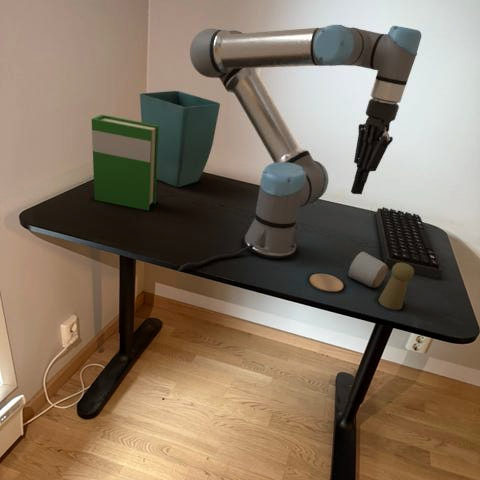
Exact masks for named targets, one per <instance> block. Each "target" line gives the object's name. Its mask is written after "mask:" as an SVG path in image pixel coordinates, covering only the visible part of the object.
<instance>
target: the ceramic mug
mask: <svg viewBox="0 0 480 480" xmlns="http://www.w3.org/2000/svg"><path fill="white" fill-rule="evenodd" d="M388 270H389V268H388V267H387V265H386V264H385V263H384V261H382V260H380V259H378V258H377V257H375V256H373V255H370V254H369V253H367V252H365V251H361V252H360V253H358V254H357V255H356V256H355V258H354V259H353V261H352V262H351V264H350V267H349V271H348V277H349V278H350V279H353V280H355V281H357V282H359V283H361V284H363V285H365V286H367V287H369V288H372V289H375V288H378V287H380V286H381V284H382V283H383V281H384V280H385V278H386V276H387V274H388Z"/></svg>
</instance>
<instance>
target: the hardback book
mask: <svg viewBox="0 0 480 480" xmlns="http://www.w3.org/2000/svg"><path fill="white" fill-rule="evenodd" d="M158 138H159V126H158V125H153V124H148V123H143V122H141V121H139V120H138V121H137V120H132V119H127V118H121V117H117V116H111V115H106V114H100V115H97V116H96V117H95V116H94V117H93V118H91V140H92V141H91V143H92V163H93V164H92V167H93V168H92V170H93V193H94V195H93V196H94V198H93V199H94V201H99V202H104V203H109V204H114V205H118V206H123V207H129V208H133V209H138V210H144V211H150V209H151V208H150V207H151V206H150V205H151V204H153V205H155V204H156V203H157V184H158V183H157V181H158V179H157V161H158Z"/></svg>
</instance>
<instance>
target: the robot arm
mask: <svg viewBox="0 0 480 480" xmlns="http://www.w3.org/2000/svg"><path fill="white" fill-rule="evenodd" d="M421 40H422V32H421V31H420V30H419V29H414V28H409V27H404V26H399V25H392V26H391V27H390V28H389V31H388V33H379V32H376V31H372V30H371V31H370V30H366V29H361V28H358V27H354V26H353V27H348V26H345V25H342V24H330V25H327V26H323V27H311V28H310V27H309V28H297V29H296V28H295V29H285V30H284V29H283V30H271V31H270V30H269V31H256V32H255V31H254V32H242V31H239V30H234V29H233V30H228V29H227V30H226V29H217V28H206V29H203V30H200V31H199V32H197V34H196V35H195V36H194V37H193V39H192V41H191V43H190V47H189V58H190V62H191V65H192V66H193V68H194V69H195V70H196V71H197V73H198V74H200V75H201V76H203V77H206V78H211V79H212V78H213V79H219V80H220V82H221V83H222V85H223V87H224V89H225V90H226V92H227V93H233V94H234V95H235V98H236V99H237V101H238V102H239V104H240V106H241V107H242V109H243V112H244V113H245V115H246V116H247V118H248V120H249V122H250V123H251V125H252V126H253V128H254V130H255V132H256V134H257V135H258V137H259V139H260V141H261V142H262V144H263V146H264V147H265V150H266V152H267V153H268V154H269V156H270V158H271V160H272V163H270V164H268V165H266V166H265V167H264V168H263V171H262V174H261V178H260V183H259V190H258V196H257V202H256V208H255V214H254V219H253V221H252V222H251V224H250V226H249V228H248V230H247V232H246V233H245V236H244V239H243V240H244V241H243V245H244V247H243V248H242V249H241V250H238V251H235V252H233V253H227V254H218V255H214V256H211V257H208V258H206V259H204V260H202V261H198V262H187V263H185V264H182V265H181V266H180V267H179V268H178V269H177V272H182V271H183V270H184V269H186V268H188V267H200V266H202V265H205V264H208V263H210V262H213V261H215V260H218V259H219V260H220V259H225V258H233V257H238V256H240V255H241V254H243V253H245V252H246V251H249V252H250V253H252V254H254V255H256V256H258V257H261V258H265V259H271V260H285V259H290V258H291V257H293V256H294V255H296V249H297V234H296V229H295V227H296V221H297V218H298V214H299V209H301V208H303V207H305V206H307V205H310V204H313V203H315V202H316V201H318V200H319V199H320V198H322V197H323V196H324V195H325V192H326V191H327V189H328V185H329V174H328V171H327V168H326V167H325V166H324V165H323V164H322V163H321V162H319V161H318V160H315V159H314V158H313V157H312V155H311V153H310V151H309V150H308V149H306V148H302V147H301V146H300V144H299V143H298V141H297V139H296V138H295V136H294V134H293V132H292V131H291V129H290V127H289V125H288V124H287V122H286V120H285V118H284V116H283V115H282V112H281V111H280V109H279V108H278V106H277V104H276V102H275V100H274V99H273V97H272V95H271V94H270V92H269V90H268V88H267V87H266V85H265V83H264V81H263V80H262V78H261V75H260V72H261V69H262V68H288V67H289V68H290V67H292V68H293V67H326V66H327V67H336V66H345V67H346V66H348V67H349V66H350V67H351V66H352V67H358V68H359V67H360V68H364V69H369V70H373V71H376V76H375V79H374V82H373V85H372V90H371V92H370V97H371V98H370V99H368V103H367V105H366V110H365V115H366V116H367V118H366V120H365V123H359V124H358V134H357V140H356V147H355V148H356V149H355V153H354V158H353V163H354V164H356V168H357V169H356V172H355V175H354V180H353V182H352V186H351V189H350V193H351V194H353V195H363V191H364V188H365V185H366V183H367V182H368V181H367V180H368V178H369V175H370V172H376V171H377V169H378V167H379V165H380V163H381V161H382V159H383V157H384V155H385V153H386V151H387V150H388V148H389V145H391V143H392V142H393V140H394V138H393V136H390V135H389V132H390V125H391V122H394V121H395V120H396V118H397V115H398V112H399V109H400V105H399V103H401V102H402V98H403V96H404V92H405V90H406V87H407V84H408V80H409V78H410V74H411V72H412V69H413V66H414V63H415V60H416V58H417V56H418V50H419V47H420V44H421ZM161 400H162V401H165V400H166V398H165V397H163V398H161Z"/></svg>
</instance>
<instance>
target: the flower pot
mask: <svg viewBox="0 0 480 480" xmlns="http://www.w3.org/2000/svg"><path fill="white" fill-rule="evenodd" d="M139 105H140V107H139V108H140V118H141V119H140V122H143V123H148V124H153V125H158V126H159V138H158V161H157V181H160V182H162V183H165V184H168V185H170V186H173V187H176V188H181V187H183V186H187V185H190V184H193V183H196V182H199V180H200V178H201V176H202V174H203V172H204V171H205V168H206V166H207V164H208V160H209V158H210V155H211V152H212V147H213V145H214V139H215V134H216V130H217V129H216V128H217V123H218V118H219V112H220V107H221V103H220V102H218V101H214V100H211V99H207V98H204V97H200V96H197V95H193V94H190V93H188V92H183V91H179V90H168V91H167V90H166V91H155V92H153V91H152V92H143V93H139Z"/></svg>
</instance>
